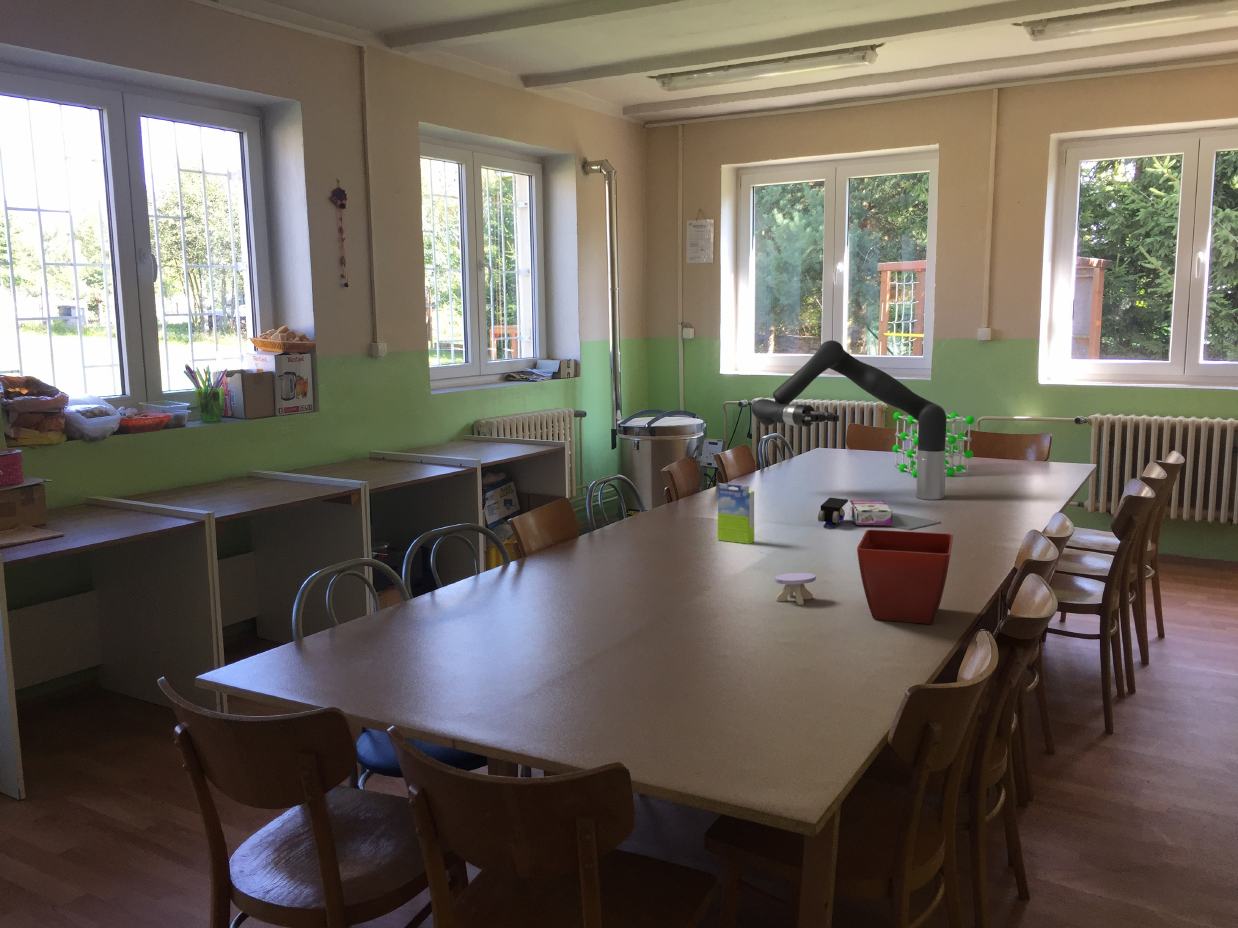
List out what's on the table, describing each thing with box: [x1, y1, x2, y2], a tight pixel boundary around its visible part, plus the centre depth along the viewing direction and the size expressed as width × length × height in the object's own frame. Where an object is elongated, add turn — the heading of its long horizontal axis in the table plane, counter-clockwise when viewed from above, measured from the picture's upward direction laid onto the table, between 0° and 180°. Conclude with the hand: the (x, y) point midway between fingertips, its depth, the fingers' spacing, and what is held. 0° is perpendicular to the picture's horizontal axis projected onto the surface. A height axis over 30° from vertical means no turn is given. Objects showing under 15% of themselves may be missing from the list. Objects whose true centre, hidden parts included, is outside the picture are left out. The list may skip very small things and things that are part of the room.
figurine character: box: [817, 497, 849, 529], centre depth 307 cm, size 7×8×15 cm
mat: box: [885, 512, 942, 531], centre depth 310 cm, size 16×18×1 cm
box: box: [717, 482, 755, 545], centre depth 286 cm, size 11×4×17 cm, turn 58°
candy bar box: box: [848, 499, 894, 526], centre depth 310 cm, size 11×5×16 cm
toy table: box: [774, 572, 817, 606], centre depth 229 cm, size 10×9×6 cm
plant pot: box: [856, 529, 954, 625], centre depth 216 cm, size 19×19×17 cm
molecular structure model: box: [892, 411, 975, 478], centre depth 399 cm, size 24×25×24 cm
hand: (837, 418), depth 328 cm, fingers closed
